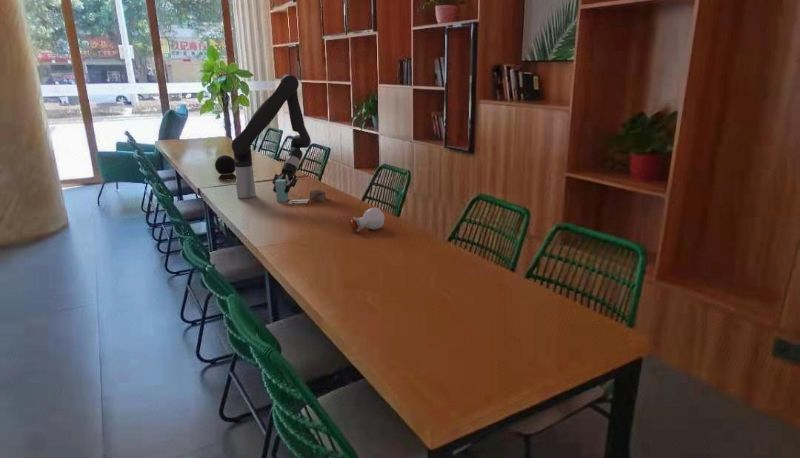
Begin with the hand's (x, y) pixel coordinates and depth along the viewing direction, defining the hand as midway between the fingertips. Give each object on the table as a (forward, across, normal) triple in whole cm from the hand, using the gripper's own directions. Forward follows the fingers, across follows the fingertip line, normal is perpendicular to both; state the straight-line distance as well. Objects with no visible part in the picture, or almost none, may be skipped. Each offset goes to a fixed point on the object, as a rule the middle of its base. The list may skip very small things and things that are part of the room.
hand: (280, 192), depth 274 cm
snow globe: (-25, -72, +32) cm, 83 cm away
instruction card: (+2, +10, +5) cm, 11 cm away
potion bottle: (+26, +68, -18) cm, 75 cm away
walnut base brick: (-2, +18, +9) cm, 20 cm away
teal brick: (+2, 0, +5) cm, 5 cm away
